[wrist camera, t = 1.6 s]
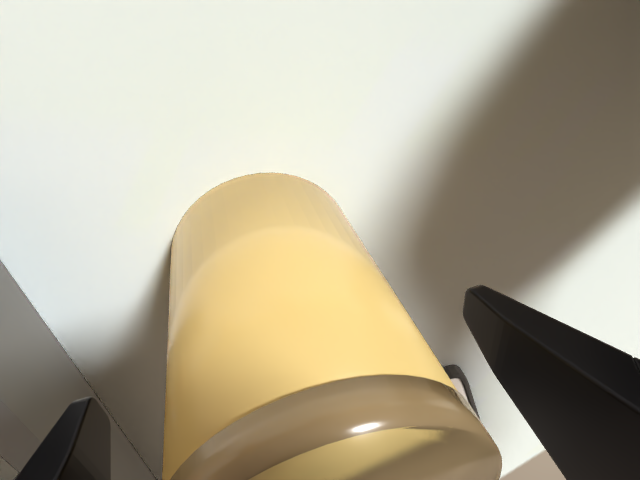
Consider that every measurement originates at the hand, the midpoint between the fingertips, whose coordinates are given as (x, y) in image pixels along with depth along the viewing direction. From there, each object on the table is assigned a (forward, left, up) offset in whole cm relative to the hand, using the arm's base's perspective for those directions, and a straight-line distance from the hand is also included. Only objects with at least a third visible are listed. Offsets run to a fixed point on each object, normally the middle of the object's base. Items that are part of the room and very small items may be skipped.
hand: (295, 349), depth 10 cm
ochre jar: (0, 0, -4) cm, 4 cm away
